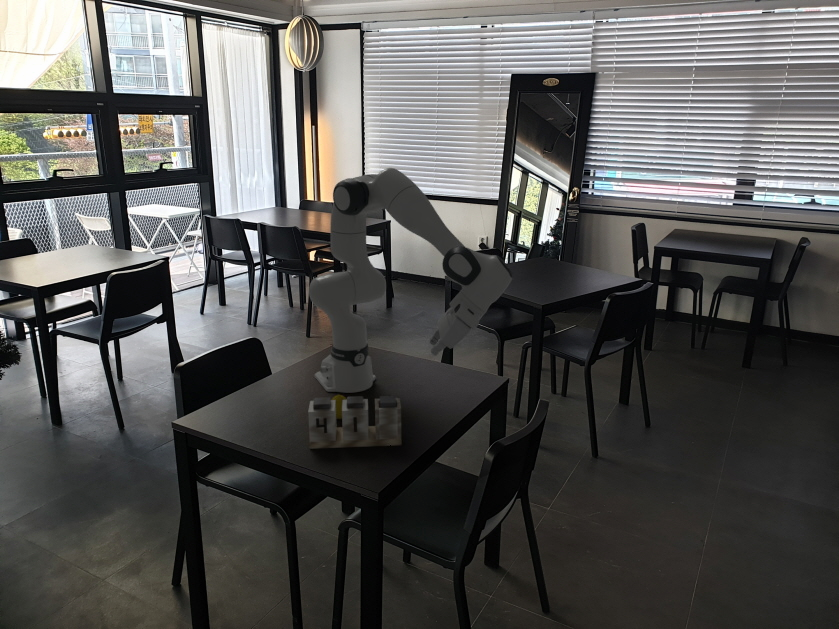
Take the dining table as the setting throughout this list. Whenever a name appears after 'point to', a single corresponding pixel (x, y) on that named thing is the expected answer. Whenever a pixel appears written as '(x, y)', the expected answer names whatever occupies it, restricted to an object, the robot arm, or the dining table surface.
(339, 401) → the lemon
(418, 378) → the dining table surface
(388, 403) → the plain button
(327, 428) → the button panel
